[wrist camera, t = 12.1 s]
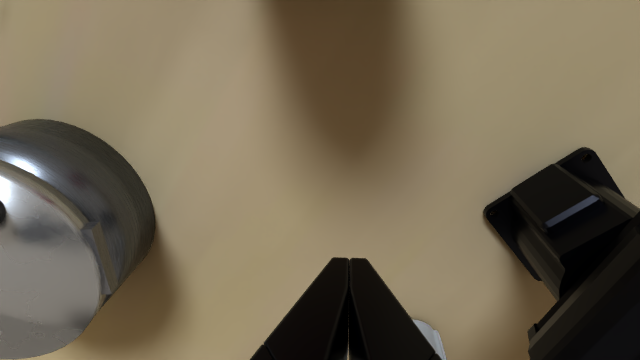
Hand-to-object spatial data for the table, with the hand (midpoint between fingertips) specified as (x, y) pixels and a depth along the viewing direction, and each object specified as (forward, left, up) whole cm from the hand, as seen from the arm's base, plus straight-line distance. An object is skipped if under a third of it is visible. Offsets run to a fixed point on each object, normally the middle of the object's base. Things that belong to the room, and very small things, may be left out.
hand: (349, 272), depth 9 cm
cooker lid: (+8, +18, -7) cm, 21 cm away
